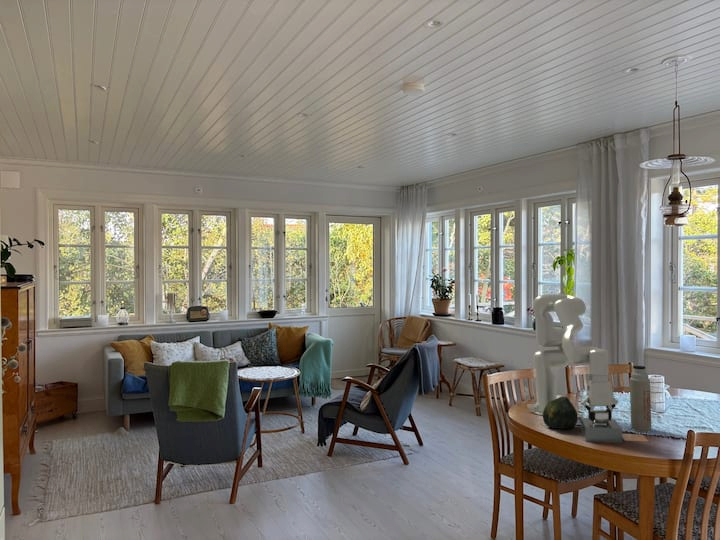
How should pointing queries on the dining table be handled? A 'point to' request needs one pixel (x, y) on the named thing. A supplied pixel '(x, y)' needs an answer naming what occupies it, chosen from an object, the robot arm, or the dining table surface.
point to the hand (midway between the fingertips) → (600, 419)
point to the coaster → (634, 437)
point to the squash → (560, 414)
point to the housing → (601, 431)
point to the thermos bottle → (640, 399)
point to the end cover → (601, 417)
